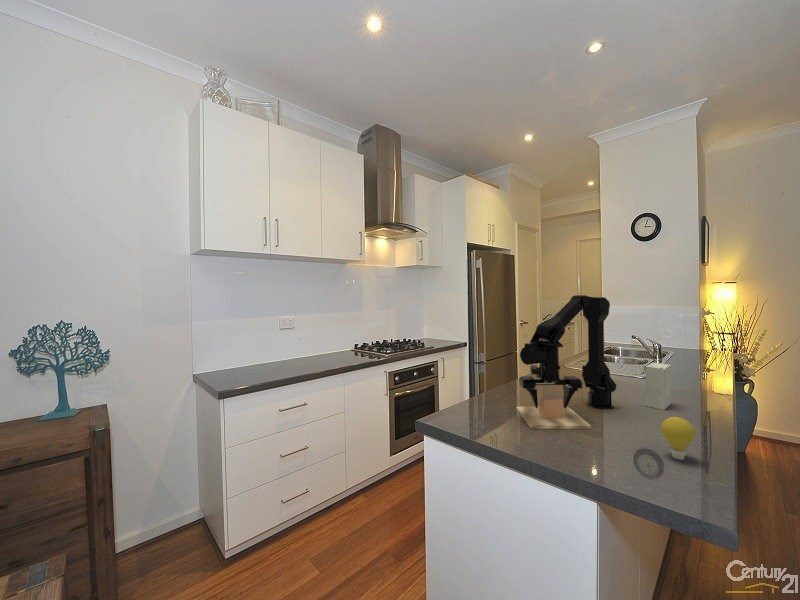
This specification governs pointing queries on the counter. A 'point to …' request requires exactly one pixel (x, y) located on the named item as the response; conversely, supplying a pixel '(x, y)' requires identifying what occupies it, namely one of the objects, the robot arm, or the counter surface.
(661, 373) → the skincare box
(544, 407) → the tan cardboard-like cube
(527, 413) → the post base
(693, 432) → the light bulb
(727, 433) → the counter surface
